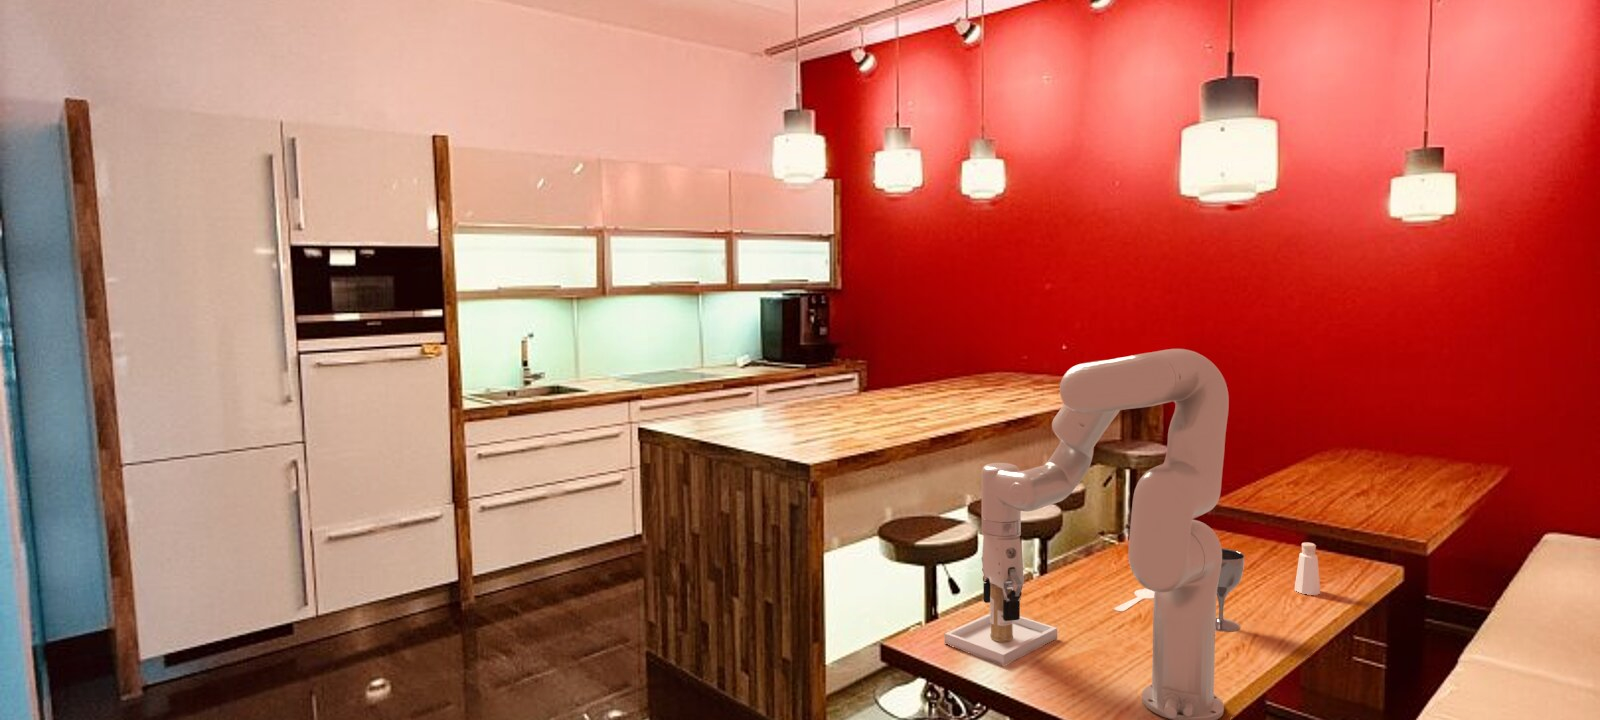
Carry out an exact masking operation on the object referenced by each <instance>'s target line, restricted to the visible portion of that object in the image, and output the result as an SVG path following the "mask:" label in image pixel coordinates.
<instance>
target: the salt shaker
mask: <svg viewBox="0 0 1600 720" xmlns="http://www.w3.org/2000/svg"><path fill="white" fill-rule="evenodd" d="M1316 547H1317V545H1316V544H1315V543H1313V542H1308V541H1307V542H1302V543H1301V552H1300V553H1299V556H1298V562H1297V570H1296V577H1295V583H1294V590H1295V591H1294V592H1296V591H1297V592H1296V593H1298V592H1299V593H1298V594H1300V593H1302V594H1301V595H1304V594H1307V595H1306V596H1311V595H1314V596H1319V595H1318V594H1320V595H1321V584H1320V574H1319V573H1320V571H1319V559H1318V555H1317V554H1316Z"/></svg>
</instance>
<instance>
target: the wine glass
mask: <svg viewBox="0 0 1600 720" xmlns="http://www.w3.org/2000/svg"><path fill="white" fill-rule="evenodd" d="M1221 548H1222V564H1221V570H1220V576H1219V581H1218V587H1217V601H1218V617H1216V620H1215V631H1219V632H1227V633H1229V632H1230V633H1231V632H1236V631H1238V630H1240V629H1241V626H1240V624H1239V623H1237V622H1236V621H1235V620H1231V619H1227V618H1224V607H1225V601H1226V598H1227V597H1228V595H1229V594H1230V592H1232V591H1233V590H1234V589H1235V588H1237V587H1238V585H1239V584H1240V582H1241V580H1242V577H1243V574H1244V569H1245V568H1244V567H1245V555H1244V553H1243V552H1240V551H1238V550H1235V549H1230V548H1225V547H1221Z"/></svg>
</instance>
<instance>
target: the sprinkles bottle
mask: <svg viewBox="0 0 1600 720" xmlns="http://www.w3.org/2000/svg"><path fill="white" fill-rule="evenodd" d="M990 584H991V586H990V587H991V592H990V594H991V595H990V603H989V604H990V605H989V608H990V609H989V614H990V622H991V634H990V637H991V639H993V640H995V641H998V642H1008V641H1011V640H1012V639H1013V627H1012V625H1013V624H1012V623H1013V620H1012V621H1005V620H1004V619H1003V600H1005V597H1004V594H1003V590H1002V588H1000V587H998V586H997V585H996V584H994V583H993V580H992V578H991V576H990ZM1006 584H1012V583H1005V585H1006ZM1007 590H1008V593H1010V592H1011V590H1013V589H1007Z"/></svg>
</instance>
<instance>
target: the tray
mask: <svg viewBox="0 0 1600 720" xmlns="http://www.w3.org/2000/svg"><path fill="white" fill-rule="evenodd" d="M1012 624H1013V625H1012V627H1013V639H1012V640H1011V641H1008V642H998V641H995V640H993V639H991V637H990V634H991V622H990V613H988V614H985V615H983V616H980V617H979V618H977V619H974V620H971V621H969V622H967V623H965V624H963V625H960V626H959V627H958V626H957V628H953V629H952V630H949V631H947V632H944V644H945V643H946V644H949V645H951V646H954V647H956V648H958V649H957V650H959V649H961V650H960V651H962V650H963V651H962V652H964V651H966V652H965V653H967V652H969V653H968V654H970V653H971V654H970V655H972V654H973V656H975V655H976V656H975V657H978V656H979V657H978V658H980V657H981V658H980V659H983V660H986V661H988V662H991V663H993V664H994V663H995V664H996V665H999V666H1002V667H1005V666H1007V665H1009V664H1011V663H1012V661H1013V662H1014V660H1015V661H1017V660H1019V659H1021V658H1023V657H1024V656H1026V655H1028V654H1030V653H1032V652H1033V650H1034V651H1036V650H1038V649H1040V648H1042V647H1043V645H1044V646H1045V644H1046V645H1048V644H1049V642H1050V643H1051V641H1052V642H1053V640H1054V641H1055V640H1057V639H1058V627H1056V626H1052V625H1049V624H1047V623H1044V622H1040V621H1037V620H1033V619H1031V618H1027V617H1024V616H1021V615H1020V619H1019V620H1013V623H1012ZM1047 643H1048V644H1047ZM946 644H945V645H946ZM951 646H950V647H951ZM1041 646H1042V647H1041ZM954 647H953V648H954ZM1039 647H1040V648H1039ZM956 648H955V649H956ZM1037 648H1038V649H1037ZM1031 651H1032V652H1031ZM1029 652H1030V653H1029ZM1027 653H1028V654H1027ZM1025 654H1026V655H1025ZM1018 658H1019V659H1018ZM1016 659H1017V660H1016ZM1010 662H1011V663H1010ZM1008 663H1009V664H1008ZM1006 664H1007V665H1006ZM1004 665H1005V666H1004Z"/></svg>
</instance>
